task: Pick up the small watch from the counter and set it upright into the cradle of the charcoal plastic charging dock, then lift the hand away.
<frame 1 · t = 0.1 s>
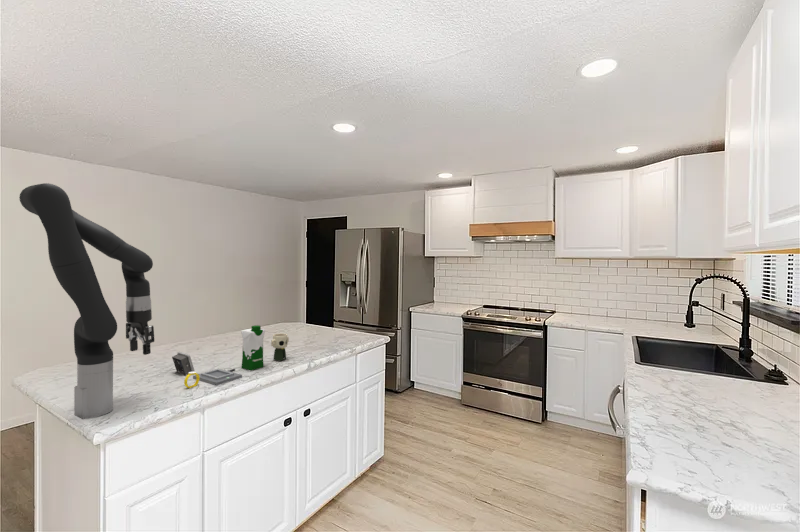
hand: (140, 352, 134), 17 cm above the counter, tool pointing down, fingers open, 8 cm apart
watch: (191, 387, 148), on the counter
charging dock: (217, 377, 159), on the counter
milk carton: (252, 367, 175), on the counter
electrical switch: (183, 373, 165), on the counter
character mug: (279, 360, 189), on the counter
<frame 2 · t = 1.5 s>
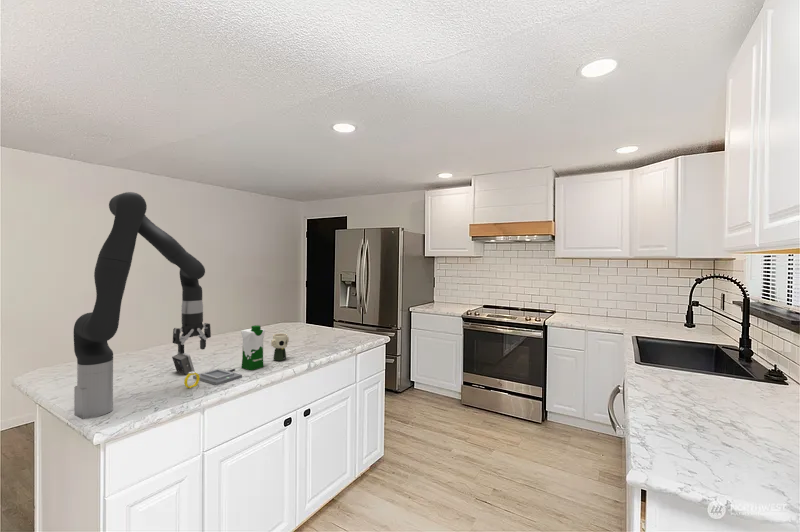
hand: (192, 351, 148), 14 cm above the counter, tool pointing down, fingers open, 8 cm apart
nothing on the counter moved.
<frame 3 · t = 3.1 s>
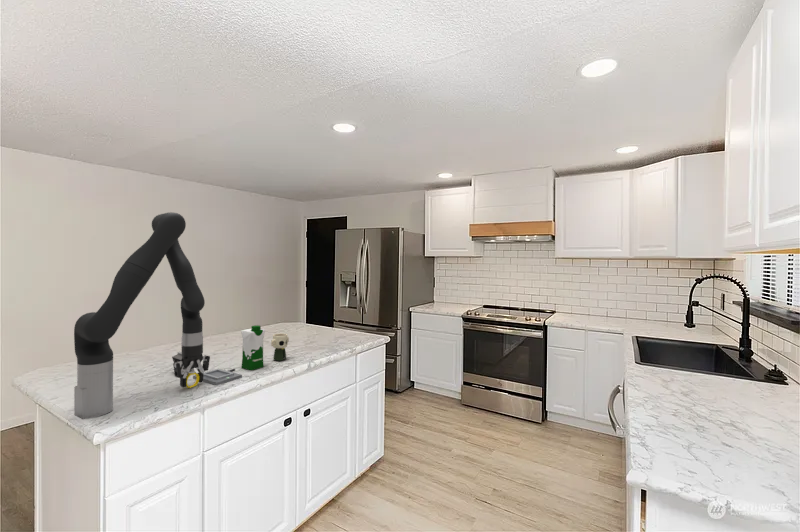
hand: (192, 384, 149), 1 cm above the counter, tool pointing down, fingers closed on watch, 6 cm apart
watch: (191, 387, 148), on the counter, touching gripper
everything else where it was.
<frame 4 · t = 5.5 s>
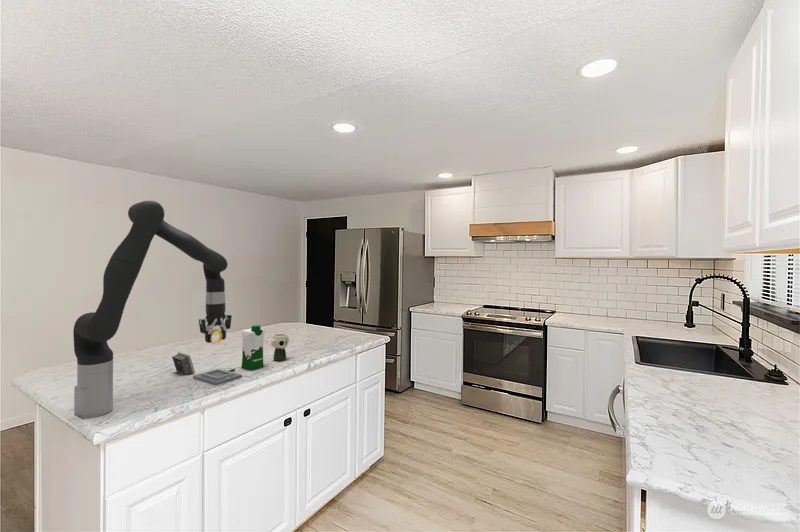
hand: (215, 340, 158), 16 cm above the counter, tool pointing down, fingers closed on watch, 6 cm apart
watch: (215, 343, 158), point 15 cm above the counter, touching gripper
everything else where it was.
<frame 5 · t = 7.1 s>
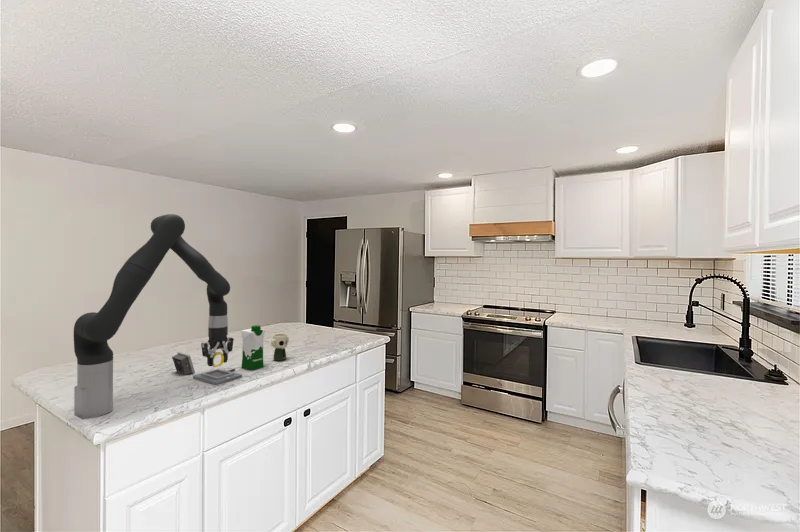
hand: (217, 363, 159), 6 cm above the counter, tool pointing down, fingers closed on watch, 6 cm apart
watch: (217, 366, 159), point 5 cm above the counter, touching gripper
everything else where it was.
when the fingers open (3 cm above the counter, at t = 8.1 s): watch drops 1 cm, resting on charging dock.
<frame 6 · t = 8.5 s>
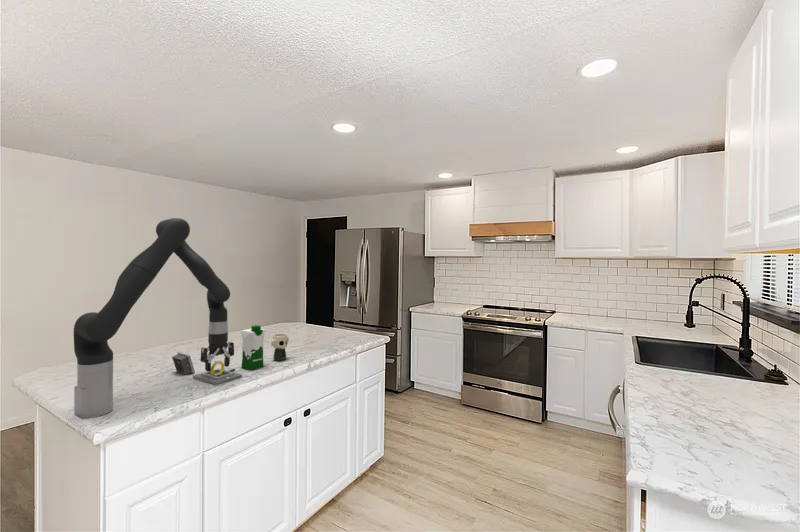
hand: (217, 368, 159), 4 cm above the counter, tool pointing down, fingers open, 8 cm apart
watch: (217, 375, 159), point 1 cm above the counter, touching charging dock
everything else where it was.
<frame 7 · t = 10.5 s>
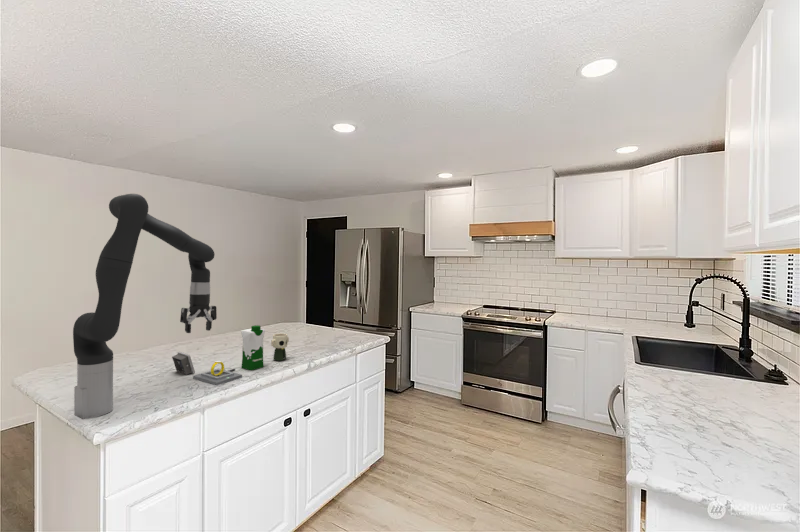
hand: (198, 331, 155), 21 cm above the counter, tool pointing down, fingers open, 8 cm apart
nothing on the counter moved.
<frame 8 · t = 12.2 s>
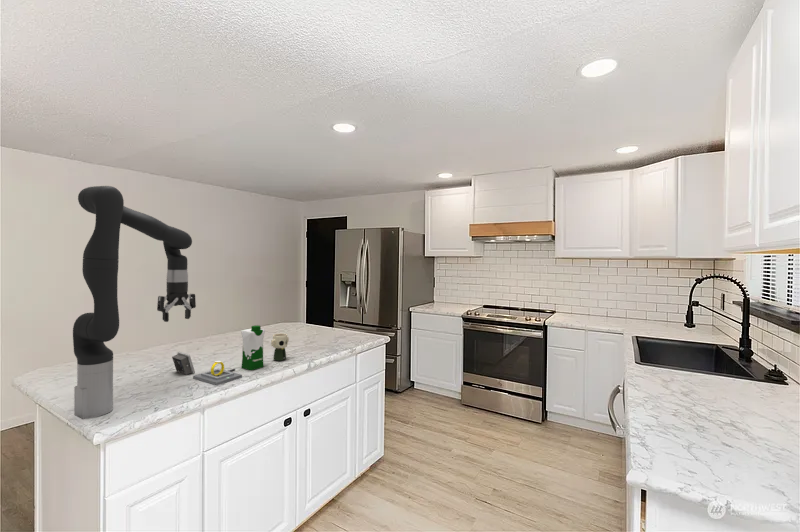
hand: (177, 320, 151), 26 cm above the counter, tool pointing down, fingers open, 8 cm apart
nothing on the counter moved.
at the end: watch 0.3 cm off-centre on the charging dock, point 1.1 cm above the charging dock's base; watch tilted 3°; the gripper is holding nothing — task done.
